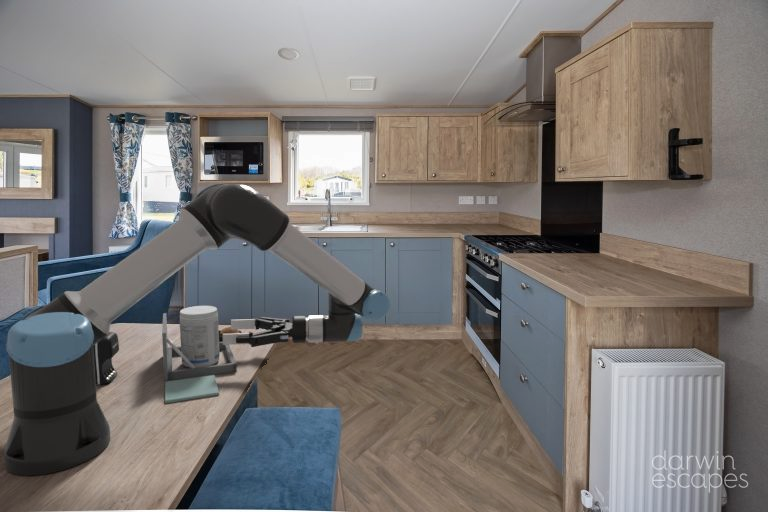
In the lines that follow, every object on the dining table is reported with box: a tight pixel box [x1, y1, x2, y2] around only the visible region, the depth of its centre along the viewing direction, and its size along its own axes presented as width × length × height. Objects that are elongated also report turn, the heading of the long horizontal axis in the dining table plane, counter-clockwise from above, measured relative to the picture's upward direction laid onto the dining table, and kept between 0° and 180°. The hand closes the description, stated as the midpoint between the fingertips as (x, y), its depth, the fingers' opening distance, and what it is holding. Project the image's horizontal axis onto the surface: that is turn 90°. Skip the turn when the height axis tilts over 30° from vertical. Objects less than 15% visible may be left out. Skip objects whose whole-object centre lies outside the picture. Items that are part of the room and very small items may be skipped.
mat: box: [164, 374, 220, 404], centre depth 106 cm, size 11×11×1 cm
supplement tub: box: [179, 305, 220, 369], centre depth 122 cm, size 10×10×15 cm
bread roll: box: [219, 326, 243, 342], centre depth 144 cm, size 11×8×4 cm
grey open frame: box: [161, 312, 237, 382], centre depth 122 cm, size 17×20×12 cm
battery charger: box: [93, 331, 120, 386], centre depth 109 cm, size 7×4×11 cm, turn 13°
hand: (227, 331), depth 123 cm, fingers open, 13 cm apart
